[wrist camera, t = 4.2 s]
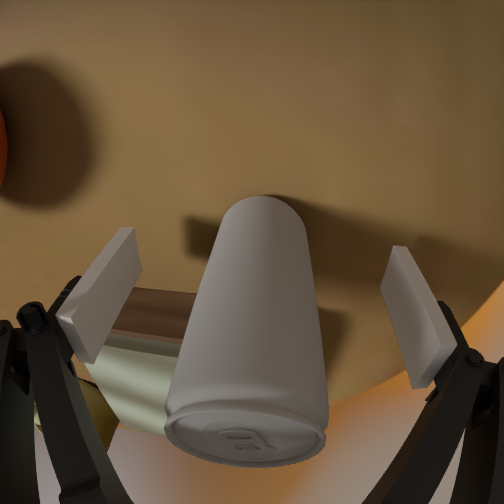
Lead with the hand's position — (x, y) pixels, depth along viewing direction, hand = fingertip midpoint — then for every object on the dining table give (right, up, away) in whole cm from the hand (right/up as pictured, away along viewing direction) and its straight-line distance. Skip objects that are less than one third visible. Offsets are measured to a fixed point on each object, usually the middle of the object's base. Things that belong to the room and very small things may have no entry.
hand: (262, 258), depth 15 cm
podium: (-5, -8, +9) cm, 13 cm away
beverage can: (0, +2, +2) cm, 3 cm away
